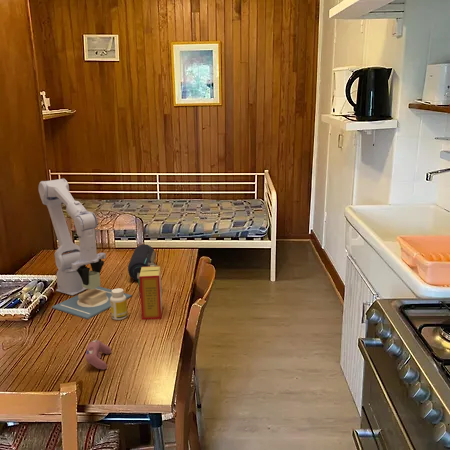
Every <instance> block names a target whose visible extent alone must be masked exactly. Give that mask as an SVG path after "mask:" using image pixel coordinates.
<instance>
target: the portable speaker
mask: <svg viewBox="0 0 450 450" xmlns="http://www.w3.org/2000/svg"><path fill="white" fill-rule="evenodd" d="M156 254H157V253H156V251H155V249H154V248H153V247H152V245H148V244H145V243H144V244H140V245H139V246H136V247H135V248H134V251H133V253H132V256H131V258H130V260H129V262H128V265H127V272H128V275H129V277H130V278H131V279H133V280H134V281H137V282H138V279H137V273H140V272H141V267H147V266H148V263H153V264H155V260H156Z"/></svg>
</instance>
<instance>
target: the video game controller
mask: <svg viewBox="0 0 450 450" xmlns="http://www.w3.org/2000/svg"><path fill="white" fill-rule="evenodd" d="M101 353H102V354H105V355H110V354H111V353H112V349H111V347H110V346H109V345H107V344H105V343H104V342H102V341H100V340H99V339H95V340H92V341H90V342H89V343H88V345H87V347H86V353H85V354H84V355H85V360H86V362H87V363H88V364H89V365H91V366H93V367H95V368H97V369H98V370H101V371H102V370H106V369H107V368H108V364H107V362H106V361H104V360H102V359H101V358H102V354H101Z"/></svg>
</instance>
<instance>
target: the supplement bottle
mask: <svg viewBox="0 0 450 450" xmlns="http://www.w3.org/2000/svg"><path fill="white" fill-rule="evenodd" d="M111 290H112V296H111V298H110V306H111V308H110V317H111V319H112V320H114V321H115V320H116V321H121V320H124V319H126V318H127V317H128V306H127V303H128V302H127V299H126V296H125V295H123V294H124V289H123V288H119V287H118V288H114V289H111Z"/></svg>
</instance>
